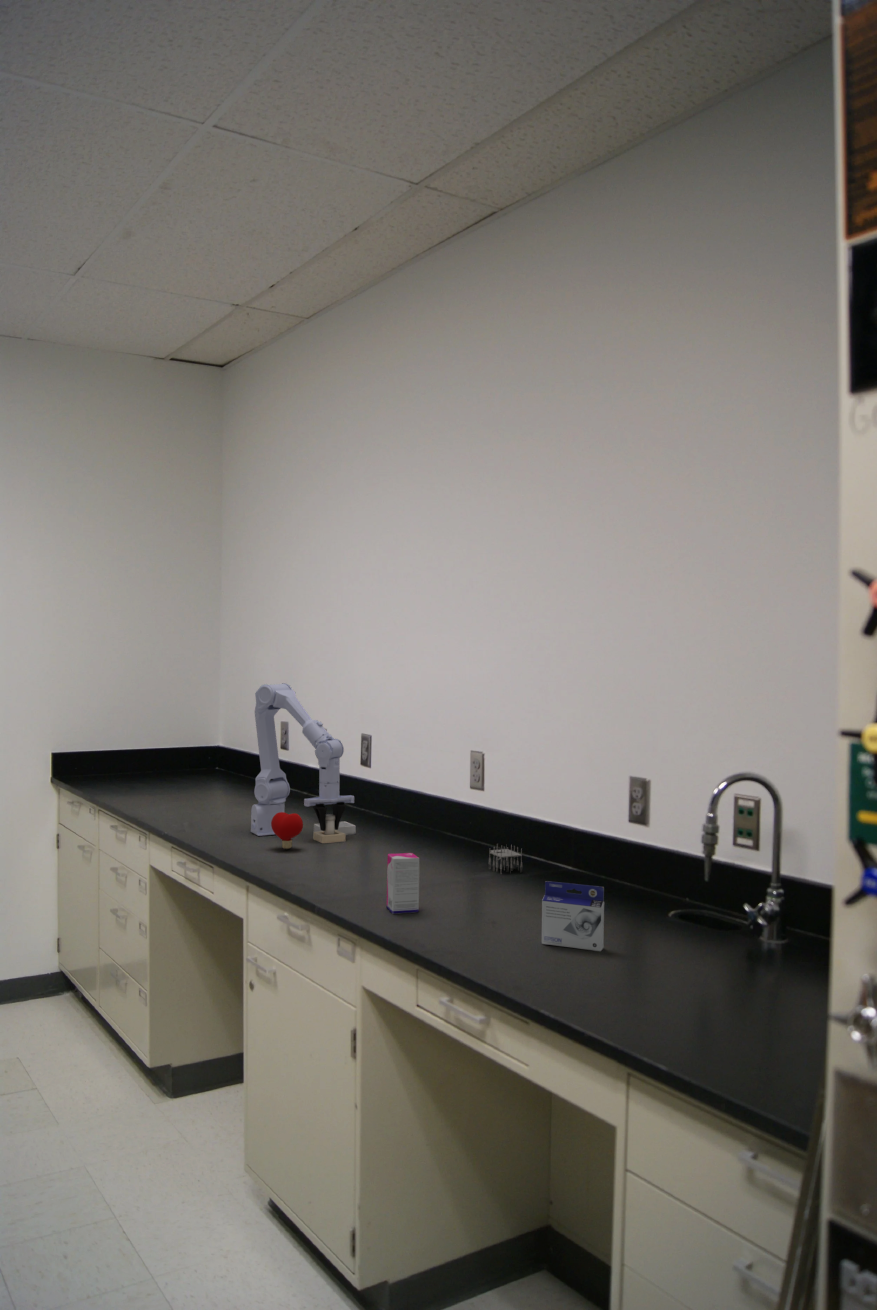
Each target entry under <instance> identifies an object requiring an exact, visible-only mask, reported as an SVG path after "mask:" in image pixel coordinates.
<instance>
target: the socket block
mask: <svg viewBox="0 0 877 1310" xmlns="http://www.w3.org/2000/svg"><path fill="white" fill-rule="evenodd" d="M312 834H313V838H312V839H313V840H314V841H316V842H319V843H321V844H330V843H331V844H332V843H340V842H343V843H344V842H346V835H345V834H344V833H342V832H340V831H337V830H335V834H332V835H324V831H320V832H314V831H313V832H312Z"/></svg>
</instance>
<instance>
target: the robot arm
mask: <svg viewBox="0 0 877 1310" xmlns="http://www.w3.org/2000/svg"><path fill="white" fill-rule="evenodd" d="M254 695H255V708H254V718H255V719H254V720H255V726H256V727H255V728H256V737H257V738H256V739H257V746H258V755H259V762H260V772H259V773H258V774H257V776H256V777H255V784H254V785H255V786H254V790H253V791H254V797H255V799H256V800H257V801H258V802H257V803H255V804H253V805H252V806H251V808H250V809H251V810H250V811H251V812H250V815H251V816H250V822H251V823H250V824H251V825H250V832H251V833H252V834H253V835H256V836H257V837H261V836H262V837H264V836H271V835H273V836H274V835H276V834H275V833H274V832H273V830H272V827H271V821H272V818H273V817H274V816H275V815H276V814H277V813H280V812H284V813H285V810H286V809H285V808H286V807H285V804H286V803H285V802H287V798H288V796H289V795H290V792H291V787H290V783H289V782H288V779H287V773H285V772H284V771H283V769H281V766H280V758H279V750H278V743H277V740H278V739H277V733H276V722H275V715H277V713H278V712H279V710H281V709H284V710H286V711H287V712H288V713H289V714H290V715H291V716H292V717H293V718H294V719H295V721H296V722H297V723H299V725H300V726H301V727H302V732H301V733H302V735H303V736H304V737H305V738H306V739H307V740H308V741H309V744H311V745H312V746H313V748H314V749H315V750H314V754H315V756H316V759H317V761H318V762H317V764H318V766H319V778H318V780H319V781H318V782H319V783H318V785H319V787H318V788H319V790H318V793H319V795H318V796H317V797H310V798H304V799H303V803H304V804H303V805H304V807H312V808H313V810H314V812H315V814H316V817H317V820H318V824H320V829H321V830H322V831H325V829H326V815H327V809H328V808H327V807H326V805H331V808H332V815H335V830H338V827H339V823H340V822H341V819H342V817H343V814H344V812H345V810H346V808H347V804H354V803H355V796H354V795H351V794H350V795H340V781H341V780H340V773H341V772H340V762H341V761H340V758H342V756H343V755H344V752H345V749H344V745H343V742H342V741H341V740H340V739H338V738H335V737H333V735H332V734H331V733H329V732H328V730H326V728H325V727H324V726H323V725H324V723H323V722H322V721H319V720H318V719H313V718H311V715H310V714H309V713H308V712H307V711H306V709H305V708H304V706H303V705H302V703H301V701H299V699H298V697H297V695H296V691H295V690H294V689H293V688H292V687H291V685H290V684H288V683H287V682H286V683H284V682H283V683H276V684H275V683H273V684H272V683H271V684H267V683H266V684H265V683H264V684H261V686H259V688H258V689H257V690H256V691H255V693H254Z"/></svg>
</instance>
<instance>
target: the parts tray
mask: <svg viewBox="0 0 877 1310" xmlns="http://www.w3.org/2000/svg"><path fill="white" fill-rule="evenodd" d="M320 831H322V830H321V829H320V824H319V823H313V832H320ZM337 831H340V832H342V833H344V834H345V836H351V835H352V836H353V835H356V831H357V830H356V825H355V824H353V823H350V822H347V821H340V823H339V827H338V830H337Z"/></svg>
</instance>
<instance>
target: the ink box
mask: <svg viewBox="0 0 877 1310" xmlns="http://www.w3.org/2000/svg"><path fill="white" fill-rule="evenodd" d="M544 889H545V890H544V895H543V898H542V899H541V945H550V946H557V947H563V948H564V947H565V948H574V949H579V950H580V949H581V950H586V951H587V950H588V951H594V952H602V950H603V949H604V940H605V939H604V936H605V935H604V933H605V931H604V929H605V928H604V925H605V922H604V921H605V901H604V900H605V899H604V898H605V897H604V896H605V887H604V886H599V885H589V884H580V883H579V884H578V883H570V882H558V881H549V880H545V881H544ZM573 890H575V891H578V892H581V893H575V892H574V893H573V892H568V891H573Z"/></svg>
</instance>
